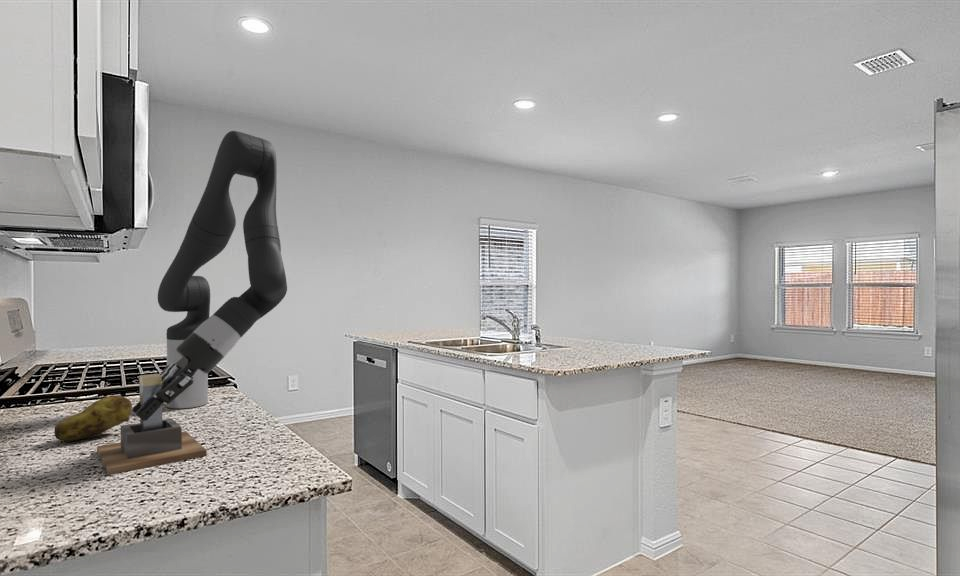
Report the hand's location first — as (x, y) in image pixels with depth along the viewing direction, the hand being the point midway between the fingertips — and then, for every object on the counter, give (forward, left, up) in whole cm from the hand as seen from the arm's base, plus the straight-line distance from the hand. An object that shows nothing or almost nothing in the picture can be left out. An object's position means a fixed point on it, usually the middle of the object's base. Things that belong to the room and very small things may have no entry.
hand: (138, 415), depth 99 cm
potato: (-21, -1, -8) cm, 22 cm away
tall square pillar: (0, +2, -5) cm, 5 cm away
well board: (0, +2, -7) cm, 8 cm away
